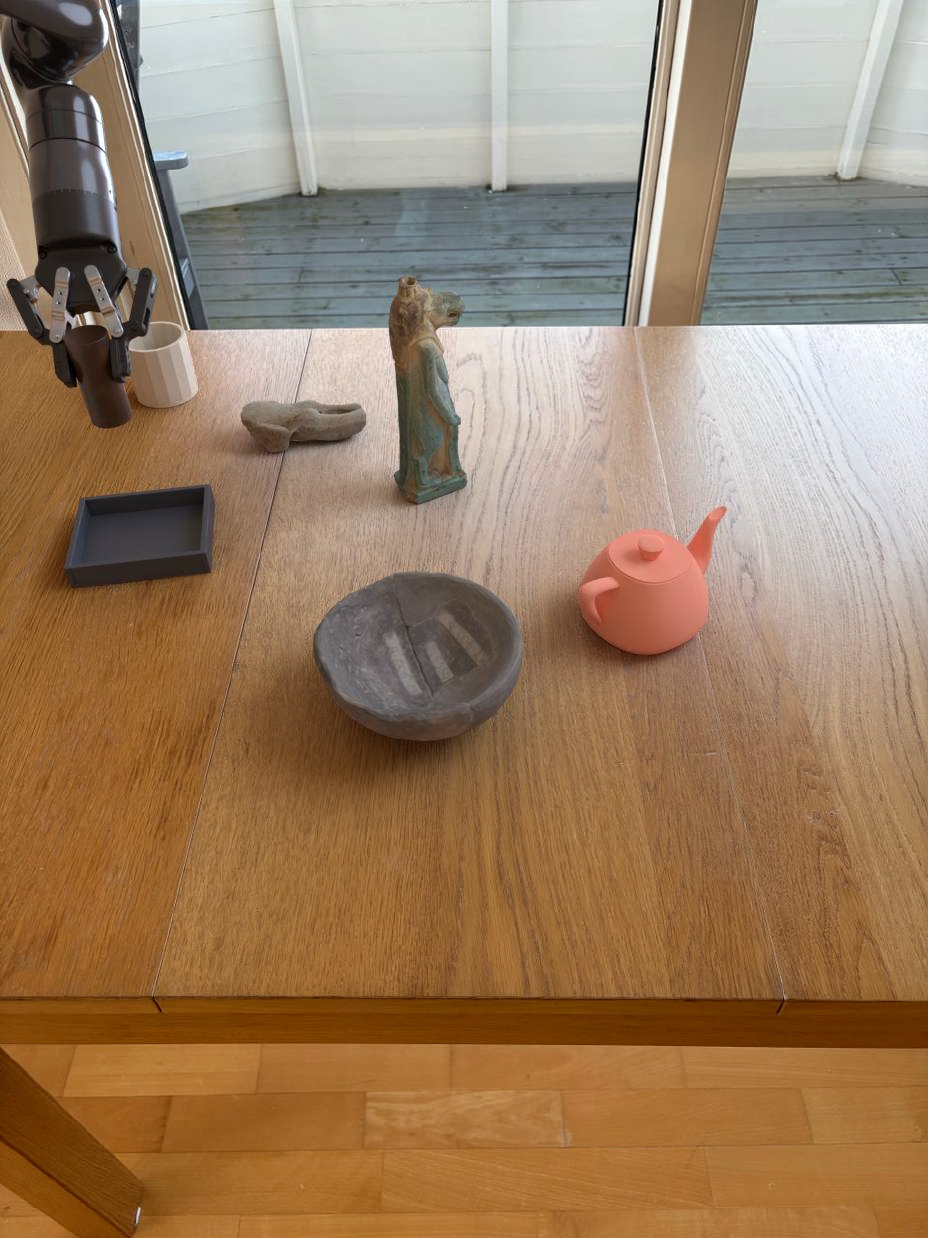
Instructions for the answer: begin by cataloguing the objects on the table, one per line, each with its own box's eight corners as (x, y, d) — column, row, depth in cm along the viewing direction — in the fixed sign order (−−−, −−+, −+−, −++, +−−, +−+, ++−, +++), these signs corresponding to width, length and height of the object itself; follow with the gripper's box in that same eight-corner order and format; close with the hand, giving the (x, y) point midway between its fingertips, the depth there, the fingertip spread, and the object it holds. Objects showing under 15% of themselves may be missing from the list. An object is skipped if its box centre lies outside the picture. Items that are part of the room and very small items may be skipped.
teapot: (536, 615, 93) (540, 541, 87) (671, 546, 101) (683, 472, 94) (618, 690, 86) (628, 615, 80) (757, 610, 93) (777, 535, 87)
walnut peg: (89, 430, 93) (60, 346, 87) (94, 409, 96) (66, 326, 90) (130, 426, 94) (104, 342, 87) (134, 405, 96) (109, 322, 90)
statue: (479, 485, 109) (476, 275, 92) (419, 512, 106) (403, 299, 88) (446, 458, 113) (437, 251, 96) (386, 483, 110) (366, 274, 93)
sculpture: (363, 418, 121) (243, 423, 119) (362, 386, 118) (239, 390, 116) (368, 452, 117) (243, 458, 114) (368, 419, 113) (239, 425, 111)
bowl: (560, 723, 84) (564, 661, 78) (380, 809, 78) (371, 748, 72) (459, 604, 95) (457, 542, 89) (296, 670, 89) (282, 608, 83)
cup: (134, 410, 123) (116, 354, 117) (139, 379, 128) (123, 324, 123) (196, 404, 123) (182, 348, 118) (199, 373, 129) (186, 318, 123)
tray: (71, 588, 98) (63, 569, 96) (87, 516, 107) (80, 497, 105) (211, 572, 99) (205, 552, 97) (215, 502, 108) (210, 483, 106)
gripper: (-20, 191, 86) (2, 379, 86) (141, 179, 87) (162, 365, 87) (12, 227, 93) (32, 400, 93) (159, 216, 94) (179, 386, 94)
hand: (95, 382), depth 90 cm, fingers closed on walnut peg, 4 cm apart
